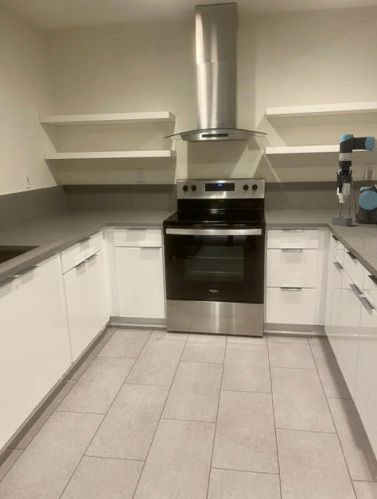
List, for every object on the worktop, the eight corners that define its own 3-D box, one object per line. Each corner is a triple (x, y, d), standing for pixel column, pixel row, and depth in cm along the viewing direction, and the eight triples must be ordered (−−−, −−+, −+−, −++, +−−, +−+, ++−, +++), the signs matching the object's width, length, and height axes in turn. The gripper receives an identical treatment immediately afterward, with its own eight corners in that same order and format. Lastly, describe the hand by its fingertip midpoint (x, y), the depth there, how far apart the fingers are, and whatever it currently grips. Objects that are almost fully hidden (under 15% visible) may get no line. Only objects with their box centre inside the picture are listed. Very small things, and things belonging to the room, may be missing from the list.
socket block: (337, 223, 251) (338, 215, 250) (351, 225, 243) (352, 217, 242) (332, 224, 248) (332, 216, 247) (345, 226, 240) (346, 218, 239)
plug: (340, 201, 246) (341, 183, 243) (349, 202, 241) (350, 183, 239) (336, 202, 244) (337, 183, 241) (344, 203, 239) (346, 184, 236)
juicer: (356, 221, 254) (357, 175, 247) (338, 221, 259) (339, 176, 252) (358, 219, 262) (359, 174, 255) (341, 219, 267) (341, 175, 261)
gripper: (348, 159, 244) (345, 196, 250) (331, 160, 234) (329, 198, 240) (358, 159, 238) (356, 197, 244) (342, 160, 228) (340, 199, 234)
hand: (343, 197), depth 242 cm, fingers closed on plug, 4 cm apart
